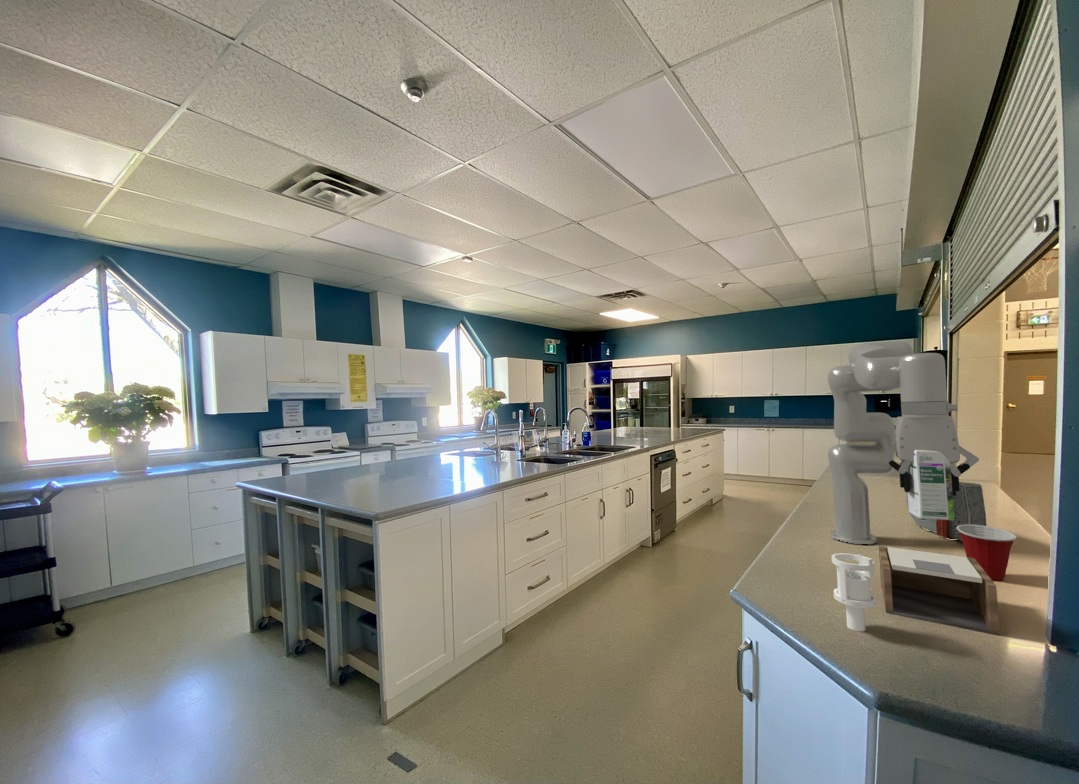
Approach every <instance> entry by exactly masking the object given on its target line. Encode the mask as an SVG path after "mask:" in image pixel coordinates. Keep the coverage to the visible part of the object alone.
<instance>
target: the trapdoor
mask: <svg viewBox="0 0 1079 784" xmlns="http://www.w3.org/2000/svg"><path fill="white" fill-rule="evenodd" d="M886 547H887V549H888V554H889V558H890V562H891V566H892V569H894V570H900V571H906V572H913V573H919V574H926V575H932V576H939V577H945V578H952V579H958V580H965V581H971V582H978V583H982V578H981V576H980V575H979V574H978V572H977V571H976V569H975V568H974V567H973V565H972V564H971V563H970V561H969V560H968V559H967V556H959V555H958V556H957V555H953V554H952V555H950V554H944V553H943V554H942V553H936V552H929V551H922V550H913V549H907V548H899V547H898V548H897V547H891V546H886Z"/></svg>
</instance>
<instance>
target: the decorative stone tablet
mask: <svg viewBox="0 0 1079 784" xmlns="http://www.w3.org/2000/svg"><path fill="white" fill-rule="evenodd" d="M982 486H983V485H982V484H980V483H975V482H974V483H973V482H964V481H959V491H956V496H953V508H954V520H941V519H921V518H919V517H917V516H915V515H913V514H911V513H910V512H909V503H908V492H906V505H907V506H906V507H907V510H908V514H909V515H910V517H911V518H912V520H913V522H914V523H915V524H916V526H918V525H919V527H920V526H921V527H923V528H925V529H928V530H930V531H933V532H935V533H934V534H936V533H937V535H938V536H939V535H940V536H943V537H946V538H949V539H957V540H960V541H959V542H963V541H962V539H961V536H960V533H959V531H958V530H957V528H956V527H957V526H959V525H982V526H988V525H987V514H986V507H985V498H984V491H983V487H982ZM921 527H920V528H921ZM923 528H922V529H923ZM940 536H939V537H940Z"/></svg>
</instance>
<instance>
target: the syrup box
mask: <svg viewBox="0 0 1079 784" xmlns="http://www.w3.org/2000/svg"><path fill="white" fill-rule="evenodd" d="M906 471H907V473H908V475H909V487H910V492H908V503H909V510H908V513H909V512H910V513H911V514H913V515H915V516H917V517H919V518H921V519H941V520H954V508H953V495H952V480H951V465H950V461H949V460H948V459H947V458H946V457H945V456H944V455H943V454H942V453H941V452H938V451H924V450H915V451H914V462H911V464H910V465H909V467H908V469H907V470H906Z"/></svg>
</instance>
